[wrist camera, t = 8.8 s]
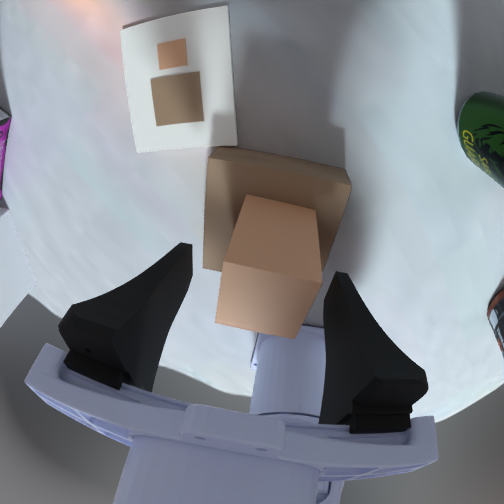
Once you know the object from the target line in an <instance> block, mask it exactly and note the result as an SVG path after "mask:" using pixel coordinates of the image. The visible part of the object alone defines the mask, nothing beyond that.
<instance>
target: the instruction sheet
mask: <svg viewBox="0 0 504 504" xmlns="http://www.w3.org/2000/svg"><path fill="white" fill-rule="evenodd" d="M120 32H121V45H122V56H123V66H124V74H125V83H126V90H127V97H128V104H129V111H130V117H131V123H132V129H133V134H134V140H135V145H136V150H137V153H141V152H150V151H159V150H170V149H181V148H195V147H213V146H237V145H238V137H237V123H236V109H235V95H234V81H233V66H232V51H231V36H230V20H229V6H220V7H213V8H206V9H200V10H195V11H189V12H184V13H180V14H175V15H171V16H167V17H163V18H159V19H155V20H152V21H148V22H145V23H141V24H138V25H135V26H132V27H129V28H126V29H123V30H120Z"/></svg>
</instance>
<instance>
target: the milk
mask: <svg viewBox="0 0 504 504" xmlns="http://www.w3.org/2000/svg"><path fill="white" fill-rule="evenodd" d="M36 283H37V280H36V278H35V276H34V274H33V272H32V269H31V267H30V265H29V262H28V260H27V258H26V255H25V253H24V250H23V247H22V245H21V242H20V240H19V237H18V234H17V231H16V228H15V225H14V222H13V219H12V216H11V213H10V210H9V209H6V208H0V327H1V326H2V325H3V323H4V322H5V321H6V319H7V318H8V317H9V316H10V314H11V313H12V312H13V311H14V309H15V308H16V307H17V306H18V304H19V303H20V302H21V301H22V300H23V298H24V297H25V296H26V295H27V294H28V293H29V291H30V290H31V289H32V288H33V287H34V286H35V285H36Z"/></svg>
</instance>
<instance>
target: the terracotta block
mask: <svg viewBox="0 0 504 504" xmlns="http://www.w3.org/2000/svg"><path fill="white" fill-rule="evenodd" d="M321 285H322V271H321V259H320V248H319V238H318V228H317V219H316V211H315V210H313V209H309V208H305V207H301V206H297V205H292V204H288V203H284V202H280V201H275V200H271V199H266V198H262V197H257V196H253V195H248V194H246V197H245V200H244V203H243V205H242V208H241V211H240V214H239V217H238V220H237V223H236V226H235V229H234V232H233V235H232V237H231V240H230V243H229V246H228V249H227V252H226V255H225V258H224V261H223V268H222V275H221V282H220V289H219V297H218V304H217V312H216V319H215V323H218V324H222V325H227V326H231V327H236V328H240V329H245V330H250V331H254V332H259V333H264V334H269V335H274V336H279V337H285V338H290V339H295V338H296V336H297V334H298V332H299V330H300V328H301V326H302V324H303V322H304V320H305V318H306V316H307V314H308V312H309V310H310V308H311V306H312V304H313V302H314V300H315V298H316V296H317V294H318V292H319V289H320V287H321Z"/></svg>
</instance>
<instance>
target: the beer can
mask: <svg viewBox="0 0 504 504" xmlns="http://www.w3.org/2000/svg"><path fill="white" fill-rule="evenodd" d="M457 133H458V137H459V141H460V144H461V147H462V149H463V150H464V152H465V154H466V156H467V157H468V158H469V159H470V160H471V161H472V162H473V163H474V164H475V165H476V166H477V167H479V168H480V169H481V170H483V171H484V172H485V173H486V174H488V175H489V176H490V177H491V178H493V179H494V180H495V181H496V182H497V183H498V184H500V185H501V186H502V187H503V188H504V96H501V95H497V94H494V93H490V92H484V91H482V92H479V93H476V94H473V95H472V96H470V97H469V98H468V99H467V100H466V101H465V102H464V103H463V104H462V106H461V108H460V110H459V113H458V118H457Z"/></svg>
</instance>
